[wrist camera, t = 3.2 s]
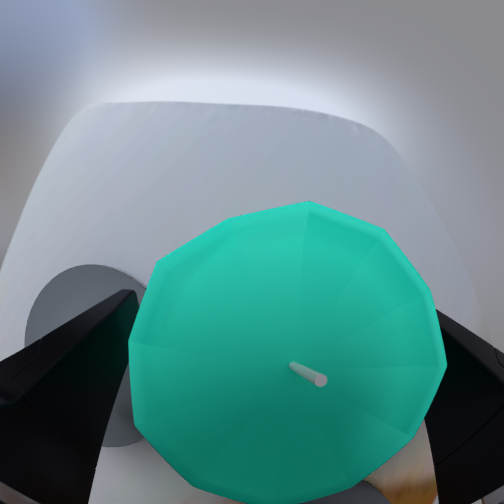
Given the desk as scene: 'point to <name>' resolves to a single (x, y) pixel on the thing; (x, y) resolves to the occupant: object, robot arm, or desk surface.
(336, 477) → the candle
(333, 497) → the dark grey washer
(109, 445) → the slate coaster
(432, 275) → the desk surface
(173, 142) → the desk surface
